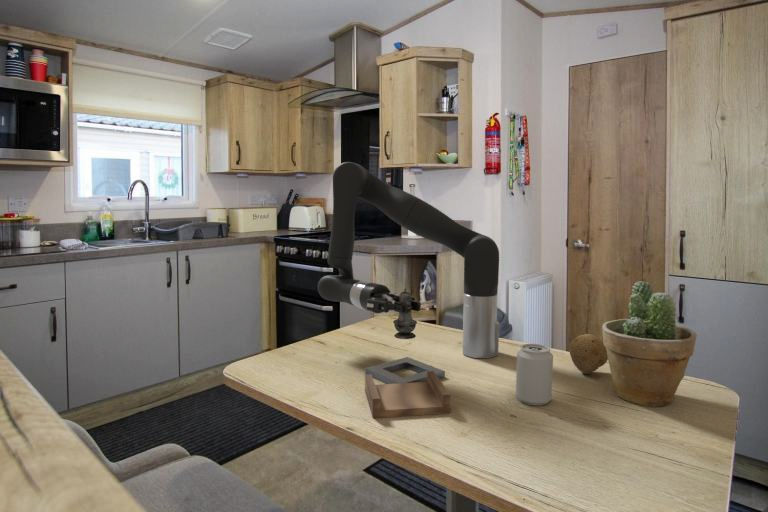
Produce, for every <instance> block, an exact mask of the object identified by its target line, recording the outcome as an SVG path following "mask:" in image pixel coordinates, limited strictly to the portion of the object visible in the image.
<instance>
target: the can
mask: <svg viewBox="0 0 768 512" xmlns="http://www.w3.org/2000/svg"><path fill="white" fill-rule="evenodd" d="M553 366H554V355H553V354H552V352H551V348H550V347H549V346H546V345H544V344H540V343H524V344H522V345H520V349H519V350H518V351H517V352H516V372H515V373H516V376H515V378H516V379H515V396H516V398H517V399H519V401H521V402H522V403H523V404H526V405H530V406H544V405H546V404H547V403H548V402H551V400H552V390H553V368H554V367H553Z"/></svg>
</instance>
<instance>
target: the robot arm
mask: <svg viewBox="0 0 768 512" xmlns="http://www.w3.org/2000/svg"><path fill="white" fill-rule="evenodd" d="M332 198H333V199H332V202H333V203H332V206H333V207H332V221H331V231H330V239H329V245H328V254H327V265H329V266H330V267H331V268H335V269H338V275H337V274H335V275H333V274H328V275H324V276H323V277H321V278H320V279H319V280H318V282H317V292H318V293H319V294H318V295H320V296H321V298H323V300H326V301H331V302H337V303H338V302H339V303H346V304H348V305H350V306H351V305H352V306H355V307H357V308H358V309H361V310H364V311H368V312H371V313H374V314H381V313H389V312H392V313H395V312H397V313H399V312H400V313H403V314H406V313H408V305H407V304H403V303H400V302H399V295H400V294H398V293H396V292H391V290H390V289H389V288H388V287H387V286H386V285H383V284H380V283H376V282H373V281H363V280H360V279H354V278H355V277H354V272H353V271H354V270H353V263H352V261H353V255H354V248H355V212H356V207H357V201H358V199H360V200H362V201H364V202H365V203H369V204H370V205H372V206H373V207H376V208H377V209H378V210H380V211H381V212H382V213H384V215H385V216H387V217H388V218H389V219H390V220H392V221H393V222H395V223H396V224H398V225H399V226H401V227H402V228H404V229H406V230H408V231H409V232H411V233H413V234H414V235H417V236H419V237H422V238H424V239H425V240H426V239H427V240H428V241H432V242H434V243H437V244H440V245H443V246H444V247H447V248H448V249H450V250H452V251H454V252H455V253H456V254H458V255H460V256H461V257H462V258H463V261H464V262H463V263H464V264H463V265H464V267H463V309H462V310H463V312H462V313H463V315H462V317H463V318H462V319H463V320H462V355H464V356H466V357H469V358H475V359H490V358H493V357H498V356H499V347H500V346H499V343H500V341H499V339H500V321H498V320H497V319H498V290H499V275H500V274H499V273H500V250H499V249H500V248H499V247H498V245H497V243H496V241H495V240H493V239H492V238H491V237H490V236H487V235H485V234H483V233H480V232H477V231H475V230H472V229H470V228H468V227H466V226H463V225H461V224H459V223H458V222H456V220H453V218H451V217H449V216H448V215H447V214H445V213H444V212H443V211H441V210H440V209H438V208H436V207H435V206H433V205H431V204H430V203H428V202H426V201H424V200H423V199H421V198H419V197H417V196H415V195H414V194H411V193H409V192H407V191H404V190H402V189H400V188H398V187H394V186H392V185H390V184H388V183H387V182H385V181H383V180H382V179H380V178H379V177H377V176H375V174H373V173H372V172H370V171H368V169H366V168H365V167H364V166H362V165H360V164H359V163H356V162H351V161H346V162H342V163H340V164H338V165H337V166H336V168H335V169H334V171H333V173H332ZM421 304H422V303H421V302H419V301H416V297H415V296H413V295H412V294H411V306H412V308H411V311H413V312H414V311H415V312H420V311H421V309H422V308H421Z"/></svg>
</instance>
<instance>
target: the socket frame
mask: <svg viewBox="0 0 768 512" xmlns="http://www.w3.org/2000/svg"><path fill="white" fill-rule="evenodd" d="M403 369H409V370H411V371H414V372H417V373H415V374H410V375H407V376H405V377H402V376H400V375H398V374H396V373H393V372H396V371H400V370H403ZM427 371H434V373H435V374H436V375H437V377H438V378H439V380H441V379H443V378H446V370H442V369H441V368H438V367H435V366H432V365H431V364H430V365H429V364H427V363H426V362H425V363H424V362H422V361H419V360H416V359H413V358H411V357H408V356H407V357H403V358H402V357H401V358H399V359H395V360H391V361H387V362H383V363H379V364H375V365H372V366H368V367H367V366H366V367H365V370H364V372H365V374H364V375H368V374H371V375H372V377H373V379H377V380H378V381H380V382H382V383H383V384H398V383H400V384H402V383H403V384H404V383H416V382H427Z"/></svg>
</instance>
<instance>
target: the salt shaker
mask: <svg viewBox="0 0 768 512" xmlns="http://www.w3.org/2000/svg"><path fill="white" fill-rule="evenodd" d="M398 295H399V302H400V303H403V304H407V305H408V313H406V314H403V313H400V312H398V317H397V319H395V320H393V321H392V322H393V324H394V328H395V330H396V331H397V332H396V333H395V334H394V336H393V337H394V338H396V339H398V340H412V339H415V338H416V334H414V330H415V329H416V325H417V324H418V321H417V320H415V319H413V316H412V310H411V308H412V306H411V295H412V294H411V293H410V292H408V291H407V288H406V287H405V288H404V289H403V291H401V292H400V293H399V294H398Z"/></svg>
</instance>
